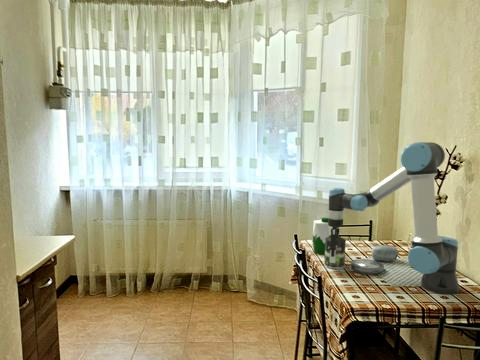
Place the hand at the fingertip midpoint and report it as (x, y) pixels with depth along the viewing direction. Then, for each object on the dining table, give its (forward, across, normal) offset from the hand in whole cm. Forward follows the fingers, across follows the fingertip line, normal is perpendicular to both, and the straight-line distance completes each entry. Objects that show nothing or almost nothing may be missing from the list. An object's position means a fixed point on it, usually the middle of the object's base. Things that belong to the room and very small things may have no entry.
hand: (334, 258), depth 195 cm
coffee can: (+4, 0, 0) cm, 4 cm away
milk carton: (+4, -21, -10) cm, 24 cm away
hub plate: (+4, -1, +16) cm, 17 cm away
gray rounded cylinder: (+4, -19, +25) cm, 32 cm away
